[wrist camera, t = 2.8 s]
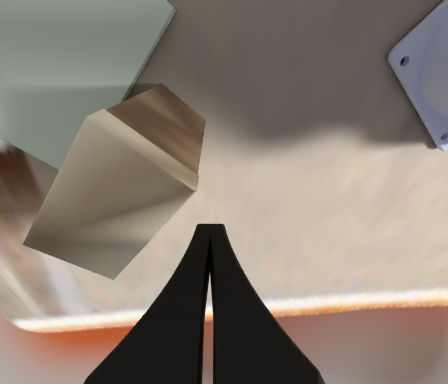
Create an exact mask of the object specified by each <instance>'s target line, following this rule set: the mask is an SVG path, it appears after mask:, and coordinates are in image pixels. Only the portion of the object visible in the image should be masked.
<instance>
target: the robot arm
mask: <svg viewBox="0 0 448 384" xmlns="http://www.w3.org/2000/svg"><path fill="white" fill-rule="evenodd" d="M403 57H404V59H405V60H404V62H403V64H402V65H400V62H401V60H402V58H403ZM388 61H389V63H390V65H391V67H392V69H393V70H394V72H395V74H396V76H397V77H398V79H399V81H400V83H401V84H402V86H403V88H404V90H405V91H406V93H407V95H408V97H409V98H410V100H411V102H412V104H413V105H414V107H415V109H416V111H417V112H418V114H419V116H420V118H421V119H422V121H423V123H424V125H425V126H426V128H427V130H428V132H429V133H430V135H431V137H432V139H433V140H434V142H435V144H436V146H437V147H438V149H439V150H442V151H448V0H444V1H443V2H442V3H441V4H440V5H439V6H437V7H436V8H435V9H434V10H433V11H432V12H431V13H430V14H429V15H428V16H427V17H426V18H425V19H424V20H423V21H421V22H420V23H419V24H418V25H417V26H416V27H415V28H414V29H413V30H412V31H411V32H410V33H409V34H408V35H407V36H405V37H404V38H403V39H402V40H401V41H400V42H399V43H398V44H397V45H396V46H395V47H394V48H393V49H392V50H391V51H390V53H389V56H388ZM442 135H443V136H442ZM209 274H210V277H211V292H212V306H213V324H214V325H213V329H214V330H213V384H325V382H324V381H323V378H322V376H321V374H320V372H319V371H318V370H317V368H316V367H315V366H314V365H313V364H312V362H311V361H310V360H309V359H308V358H307V357H306V356H305V355H304V354H303V353H302V351H301V350H300V349H299V348H298V347H297V345H296V344H295V343H294V342H293V341H292V340H291V338H290V337H289V336H288V335H287V334H286V332H285V331H284V330H283V329H282V327H281V326H280V325H279V323H278V322H277V321H276V319H275V318H274V317H273V315H272V314H271V313H270V311H269V310H268V309H267V307H266V306H265V305H264V303H263V302H262V300H261V299H260V297H259V296H258V294H257V293H256V291H255V290H254V288H253V287H252V285H251V283H250V282H249V280H248V278H247V277H246V275H245V273H244V271H243V269H242V268H241V266H240V264H239V262H238V260H237V258H236V256H235V253H234V251H233V249H232V247H231V244H230V242H229V239H228V236H227V233H226V230H225V226H224V225H223V224H198V225H197V226H196V230H195V233H194V235H193V238H192V240H191V242H190V244H189V246H188V248H187V250H186V252H185V254H184V256H183V258H182V260H181V262H180V263H179V265H178V267H177V268H176V270H175V272H174V274H173V275H172V277H171V278H170V280H169V281H168V283H167V284H166V286H165V287H164V289H163V290H162V292H161V293H160V294H159V296H158V297H157V298H156V300H155V301H154V302H153V304H152V305H151V306H150V308H149V309H148V310H147V311H146V313H145V314H144V315H143V316H142V318H141V319H140V320H139V321H138V322H137V324H136V325H135V326H134V327H133V328H132V329H131V331H130V332H129V333H128V334H127V335H126V336H125V338H124V339H123V340H122V341H121V342H120V343H119V344H118V345H117V346H116V348H115V349H114V350H113V351H112V352H111V353H110V354H109V355H108V356H107V357H106V358H105V359H104V360H103V361H102V362H101V363H100V364H99V366H98V367H97V368H96V369H95V370H94V371H93V372H92V373H91V374H90V375H89V376H88V377H87V379H86V380H85V382H84V384H202V369H203V339H204V320H205V309H206V301H207V292H208V283H209Z"/></svg>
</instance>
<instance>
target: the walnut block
mask: <svg viewBox="0 0 448 384" xmlns="http://www.w3.org/2000/svg"><path fill="white" fill-rule="evenodd" d="M205 122H206V121H205V120H204V119H203V118H202V117H201V116H200V115H198V114H197V113H196V112H195V111H194V110H193V109H191V108H190V107H189V106H188V105H187V104H185V103H184V102H183V101H182V100H181V99H180V98H178V97H177V96H176V95H175V94H174V93H172V92H171V91H170V90H169V89H168V88H167V87H165V86H164V85H163V84H159V85H157V86H155V87H153V88H151V89H149V90H147V91H145V92H143V93H140V94H138V95H136V96H134V97H132V98H130V99H128V100H126V101H124V102H121V103H119V104H117V105H115V106H113V107H111V108H109V109H107V110H105V109H102V110H100V111H98V112H95V113H93V114H91V115H89V116H87V117H86V118H85V120H84V122H83V124H82V126H81V128H80V130H79V132H78V134H77V136H76V138H75V140H74V142H73V144H72V146H71V148H70V150H69V152H68V154H67V156H66V158H65V160H64V162H63V164H62V166H61V168H60V170H59V172H58V174H57V176H56V178H55V180H54V182H53V184H52V186H51V188H50V190H49V192H48V194H47V196H46V198H45V200H44V202H43V204H42V206H41V208H40V210H39V212H38V214H37V216H36V218H35V220H34V223H33V225H32V227H31V229H30V231H29V233H28V235H27V237H26V239H25V241H24V243H23V245H25V246H27V247H30V248H32V249H35V250H38V251H40V252H43V253H45V254H48V255H51V256H53V257H56V258H58V259H61V260H64V261H66V262H69V263H71V264H74V265H77V266H79V267H82V268H84V269H87V270H90V271H92V272H95V273H97V274H100V275H103V276H105V277H108V278H110V279H113V280H114V279H115V278H116V276H117V275H118V274H119V273H120V272H121V271H122V270H123V269H124V268H125V267H126V266H127V265H128V264H129V263H130V262H131V260H132V259H133V258H134V257H135V256H136V255H137V254H138V253H139V252H140V251H141V250H142V249H143V248H144V247H145V245H146V244H147V243H148V242H149V241H150V240H151V239H152V238H153V237H154V236H155V235H156V234H157V233H158V232H159V230H160V229H161V228H162V227H163V226H164V225H165V224H166V223H167V222H168V221H169V220H170V219H171V218H172V217H173V216H174V214H175V213H176V212H177V211H178V210H179V209H180V208H181V207H182V206H183V205H184V204H185V203H186V202H187V201H188V199H189V198H190V197H191V196H192V195H193V194H194V193H195V192H196V191H197V185H198V178H199V176H198V168H199V162H200V155H201V148H202V142H203V135H204V128H205Z"/></svg>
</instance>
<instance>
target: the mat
mask: <svg viewBox="0 0 448 384" xmlns="http://www.w3.org/2000/svg"><path fill="white" fill-rule="evenodd" d="M175 12H176V10H175V8H174V7H173V6H172V5H171V4H170V3H169V2H168V1H167V0H0V138H1V139H3V140H5V141H6V142H8V143H10V144H12V145H14V146H16V147H17V148H19V149H21V150H23V151H25V152H27V153H29V154H30V155H32V156H34V157H36V158H38V159H40V160H41V161H43V162H45V163H47V164H49V165H51V166H53V167H54V168H56V169H58V170H60V168H61V166H62V164H63V162H64V160H65V158H66V156H67V154H68V152H69V150H70V148H71V146H72V144H73V142H74V140H75V138H76V136H77V134H78V132H79V130H80V128H81V126H82V124H83V122H84V120H85V118H86V117H87V116H89V115H91V114H93V113H95V112H98V111H100V110H102V109H105V110H107V109H109V108H111V107H113V106H115V105H117V104H119V103H121V102H124V101H125V100H126V98H127V96H128V95H129V93H130V91H131V89H132V88H133V86H134V84H135V82H136V81H137V79H138V77H139V75H140V74H141V72H142V70H143V68H144V67H145V65H146V63H147V61H148V60H149V58H150V56H151V54H152V53H153V51H154V49H155V47H156V46H157V44H158V42H159V40H160V39H161V37H162V35H163V33H164V32H165V30H166V28H167V26H168V25H169V23H170V21H171V19H172V18H173V16H174V14H175Z"/></svg>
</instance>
